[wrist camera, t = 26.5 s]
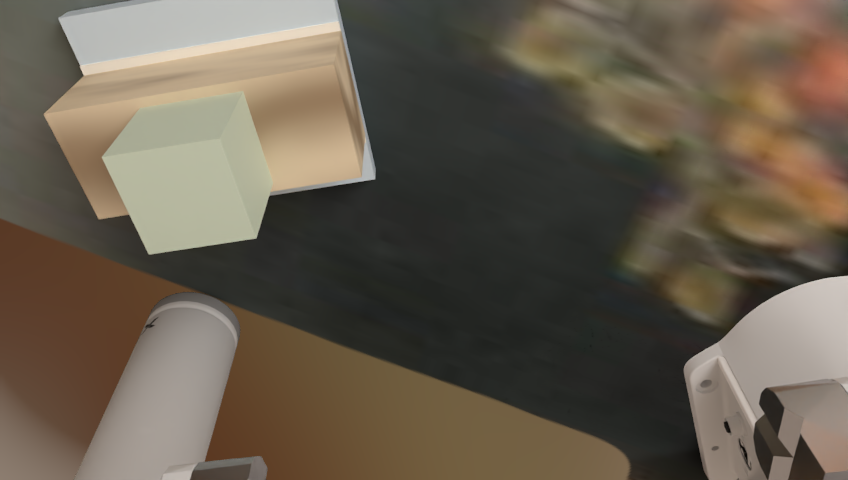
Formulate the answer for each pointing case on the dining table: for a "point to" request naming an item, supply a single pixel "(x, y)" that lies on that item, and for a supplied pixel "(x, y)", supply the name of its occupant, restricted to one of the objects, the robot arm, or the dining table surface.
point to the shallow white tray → (199, 37)
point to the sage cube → (191, 173)
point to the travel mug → (166, 392)
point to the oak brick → (215, 75)
